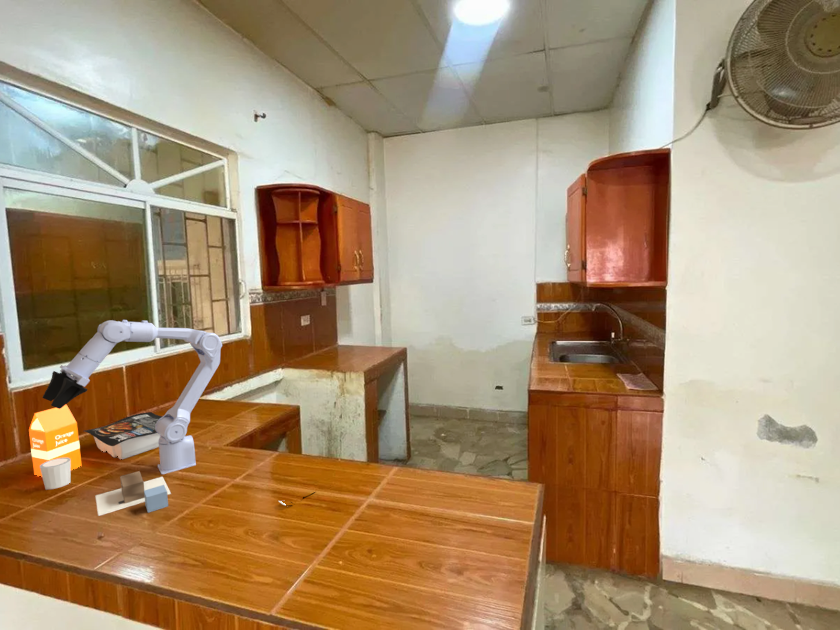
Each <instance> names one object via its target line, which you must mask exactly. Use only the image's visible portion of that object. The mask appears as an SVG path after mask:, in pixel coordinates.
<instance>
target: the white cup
mask: <svg viewBox="0 0 840 630" xmlns="http://www.w3.org/2000/svg"><path fill="white" fill-rule="evenodd" d="M40 469H41V473H42V477H41V478H42V481H43V484H44V485H43V486H44V489H45V490H46V491H47V490H54V489H58V488H62V487H65V486H67V485H70V484H71V472H72V470H71V459H70V458H68V457H65V458H57V459H53V460H50V461H47V462H44V463H43V464H41V465H40ZM69 483H70V484H69Z"/></svg>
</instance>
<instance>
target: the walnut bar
mask: <svg viewBox="0 0 840 630" xmlns="http://www.w3.org/2000/svg"><path fill="white" fill-rule="evenodd" d="M119 476H120V475H119ZM119 478H120V488H121V489H122V494H123V498H124V502H125V503H128V502H131V501H135V500H138V499H141V498H145V496H144V482H145V481H144V479H143V477H142V474H141V472H140V470H139V471H135V472H132V473H127V474H124V475H121V476H120V477H119Z"/></svg>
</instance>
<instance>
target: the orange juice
mask: <svg viewBox="0 0 840 630" xmlns="http://www.w3.org/2000/svg"><path fill="white" fill-rule="evenodd" d="M67 404H68V403H67ZM67 404H66V405H64V406H63V407H62V408H60V409H58V408H56V407H53V408H49V409H45V410H41V411H37V412H34V415H33V417H32V420H31V423H30V425H29V429H28V432H29V433H28V434H29V443H30V451H31V452H30V453H31V454H30V455H31V460H32V466H33V474H34V475H37V476H36V477H39V476H41V477H40V478H43V477H42V473H41V469H40V465H41V464H43V463H44V462H47V461H50V460H53V459H57V458H65V457H68V458H70V459H71V471H73V469H74V470H76V469H78V467H79V468H81V467H82V466H83V465H82V456H81V445H80V439H79V430H78V421H76V419H75V417H74V415H73V413H72V412H71V410H70V408H69V407H68V405H67ZM80 466H81V467H80Z"/></svg>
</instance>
